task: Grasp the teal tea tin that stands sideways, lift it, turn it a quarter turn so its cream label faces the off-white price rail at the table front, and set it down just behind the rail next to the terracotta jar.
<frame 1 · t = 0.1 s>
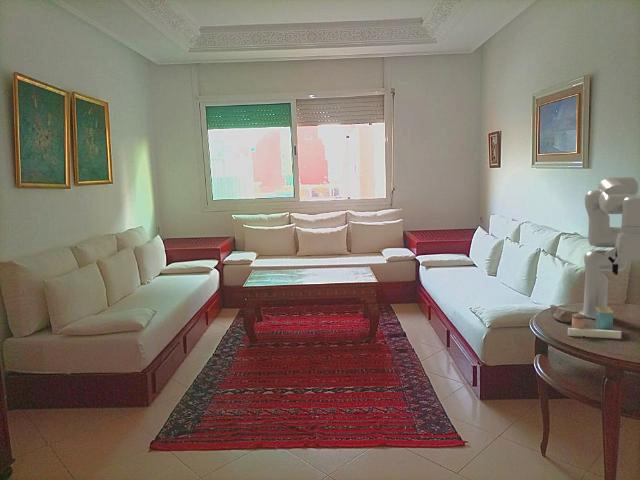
hand: (629, 274, 187), 31 cm above the table, fingers open, 9 cm apart
tea tin: (603, 329, 216), on the table
mineral specimen: (563, 320, 230), on the table
price rail: (593, 336, 208), on the table
spice jar: (577, 333, 213), on the table
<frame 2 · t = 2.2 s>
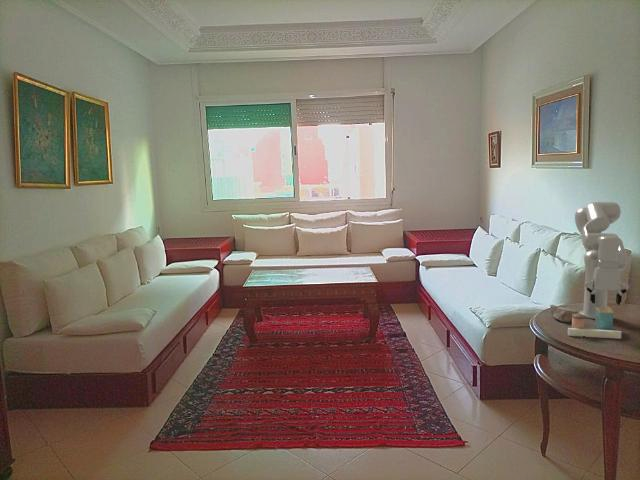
hand: (605, 303, 214), 12 cm above the table, fingers open, 9 cm apart
nothing on the table moved.
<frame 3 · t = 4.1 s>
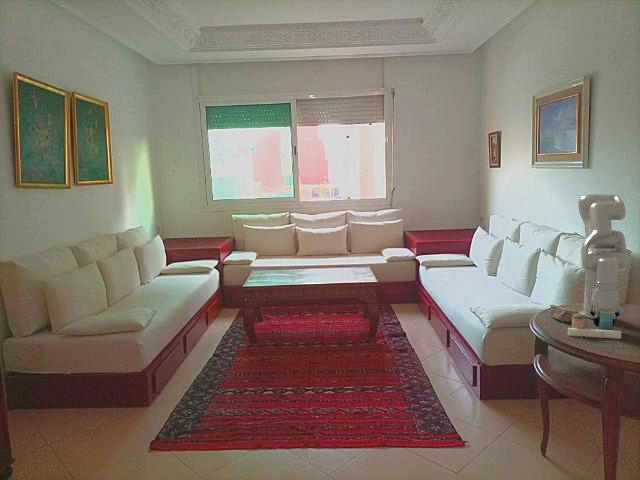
hand: (603, 325, 216), 2 cm above the table, fingers closed on tea tin, 5 cm apart
tea tin: (603, 329, 216), on the table, touching gripper
everything else where it was.
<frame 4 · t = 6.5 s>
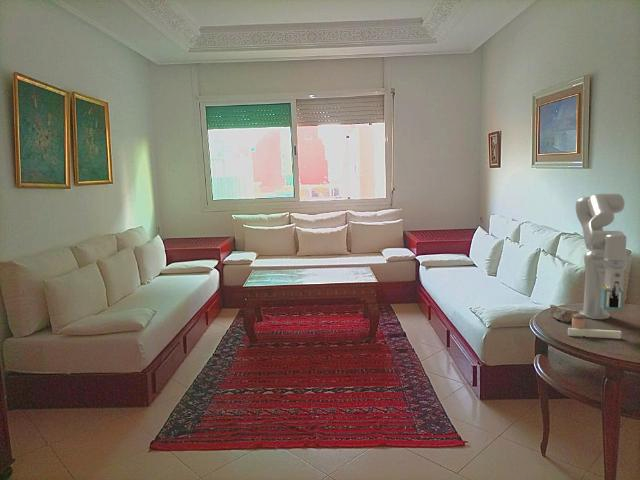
hand: (611, 304, 208), 13 cm above the table, fingers closed on tea tin, 5 cm apart
tea tin: (611, 308, 209), point 11 cm above the table, touching gripper
everything else where it was.
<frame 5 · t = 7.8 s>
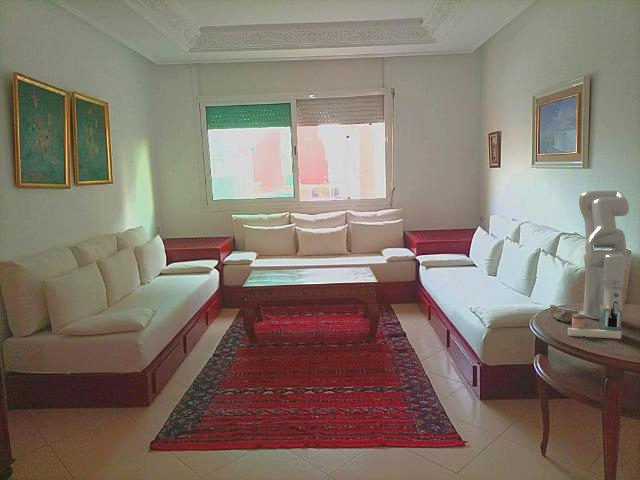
hand: (610, 324, 210), 5 cm above the table, fingers closed on tea tin, 5 cm apart
tea tin: (609, 327, 210), point 3 cm above the table, touching gripper
everything else where it was.
when the fingers open (3 cm above the table, at t = 8.9 s): tea tin drops 2 cm, on the table.
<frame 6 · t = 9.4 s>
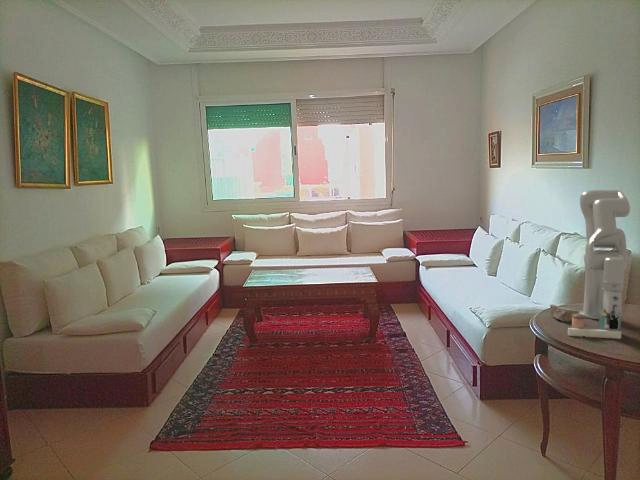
hand: (610, 324, 210), 4 cm above the table, fingers open, 9 cm apart
tea tin: (609, 333, 211), on the table
everything else where it was.
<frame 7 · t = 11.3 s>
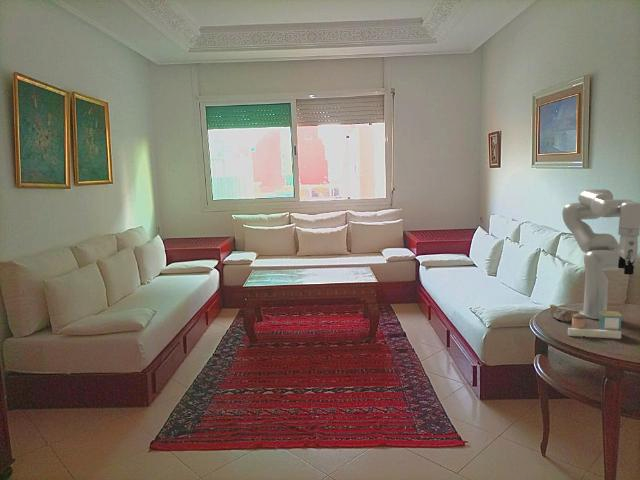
hand: (625, 271, 209), 27 cm above the table, fingers open, 9 cm apart
nothing on the table moved.
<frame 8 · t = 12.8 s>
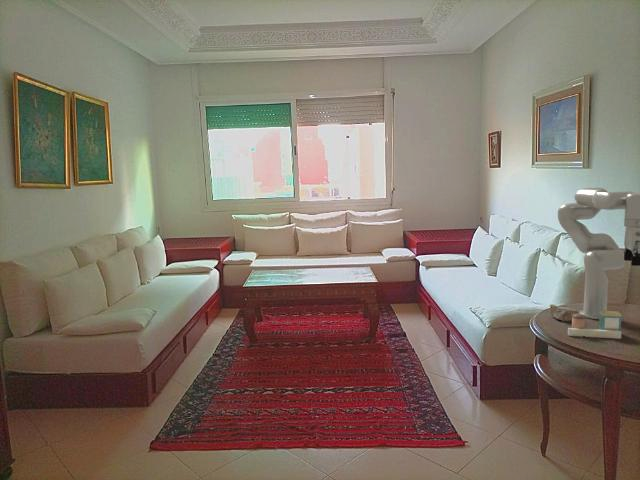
hand: (631, 262, 208), 30 cm above the table, fingers open, 9 cm apart
nothing on the table moved.
at the end: tea tin inside the target area (0.1 cm from its centre), on the table; tea tin tilted 0°; the gripper is holding nothing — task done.
